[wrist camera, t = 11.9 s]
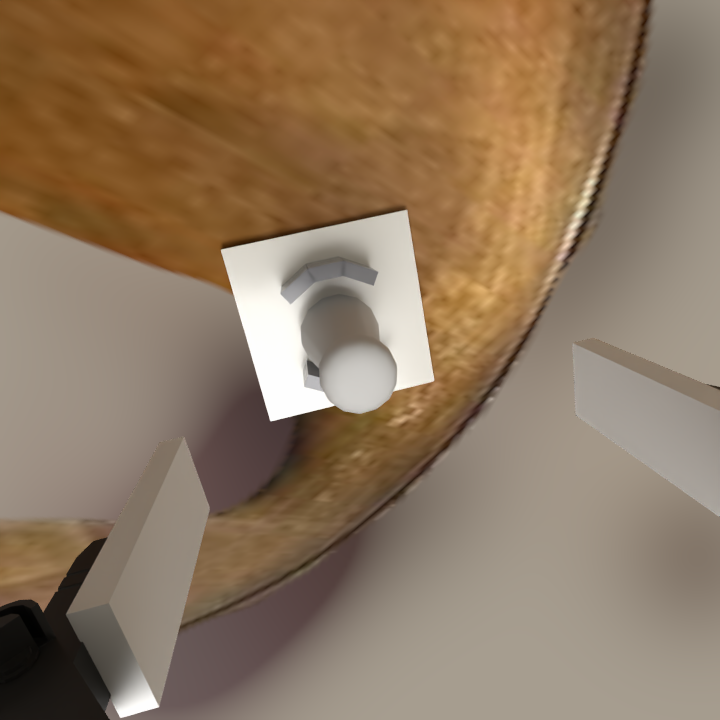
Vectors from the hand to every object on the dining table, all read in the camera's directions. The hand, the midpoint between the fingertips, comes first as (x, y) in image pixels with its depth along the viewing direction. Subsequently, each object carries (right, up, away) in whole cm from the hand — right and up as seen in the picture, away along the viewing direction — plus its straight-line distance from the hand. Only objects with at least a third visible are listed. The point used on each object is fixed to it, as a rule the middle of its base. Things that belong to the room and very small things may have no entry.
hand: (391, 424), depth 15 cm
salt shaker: (-3, +5, +21) cm, 22 cm away
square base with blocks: (-3, +5, +22) cm, 23 cm away
